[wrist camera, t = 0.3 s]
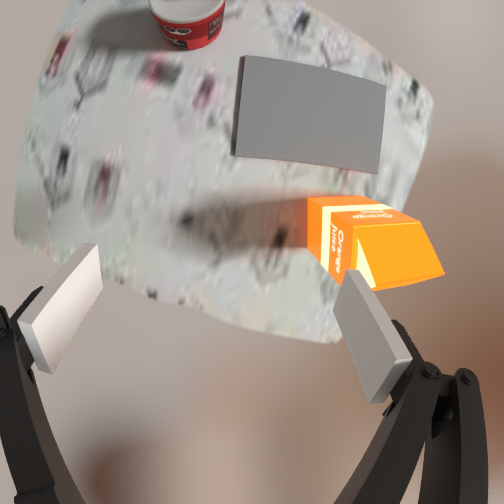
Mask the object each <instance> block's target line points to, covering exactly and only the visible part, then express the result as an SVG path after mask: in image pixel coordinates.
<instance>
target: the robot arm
mask: <svg viewBox="0 0 504 504" xmlns="http://www.w3.org/2000/svg"><path fill="white" fill-rule="evenodd" d="M102 288H103V286H102V279H101V272H100V265H99V257H98V248H97V244H91V243H84V244H83V245H82V246H81V247H80V248H79V249H78V250H77V252H76V253H75V254H74V255H73V256H72V257H71V258H70V259H69V260H68V261H67V262H66V263H65V264H64V265H63V266H62V268H61V269H60V270H59V271H58V272H57V273H56V274H55V275H54V277H53V278H52V279H51V280H50V281H49V282H48V283H47V285H46V286H45V287H43V286H40V287H39V288H37V289H36V290H34V291H33V292H32V293H31V294H30V295H29V296H28V297H27V300H25V301H24V302H23V303H22V305H21V306H20V307H19V308H18V309H17V310H16V312H15V313H14V314H13V315H12V317H11V318H10V319H9V317H8V315H7V312H6V309H5V308H4V307H3V306H0V437H1V441H2V445H3V448H4V453H5V456H6V459H7V463H8V466H9V469H10V472H11V475H12V478H13V481H14V484H15V487H16V490H17V495H16V496H15V497H14V503H15V504H86V503H85V502H84V500H83V498H82V496H81V494H80V493H79V491H78V489H77V487H76V485H75V483H74V481H73V479H72V477H71V475H70V473H69V471H68V469H67V467H66V464H65V462H64V460H63V458H62V455H61V453H60V451H59V449H58V446H57V443H56V441H55V438H54V436H53V433H52V431H51V428H50V425H49V422H48V420H47V417H46V414H45V411H44V408H43V405H42V402H41V398H40V395H39V391H38V388H37V385H36V381H35V377H34V373H33V371H32V369H31V365H32V364H33V362H34V361H35V363H36V365H37V367H38V369H39V370H40V371H43V372H46V373H49V374H53V373H54V371H55V369H56V367H57V365H58V363H59V361H60V360H61V358H62V356H63V354H64V352H65V350H66V349H67V347H68V345H69V343H70V341H71V340H72V338H73V336H74V334H75V333H76V331H77V329H78V328H79V326H80V324H81V323H82V321H83V319H84V318H85V316H86V314H87V313H88V311H89V309H90V308H91V306H92V304H93V303H94V301H95V300H96V298H97V297H98V295H99V293H100V292H101V290H102ZM333 312H334V314H335V317H336V319H337V322H338V324H339V327H340V329H341V332H342V334H343V337H344V339H345V342H346V345H347V347H348V350H349V352H350V355H351V357H352V360H353V362H354V365H355V368H356V371H357V373H358V376H359V379H360V381H361V384H362V387H363V390H364V393H365V395H366V398H367V401H368V404H374V403H382V402H384V401H385V400H386V399H387V397H388V396H389V394H390V395H391V397H392V400H393V401H392V402H391V403H390V405H389V406H388V407H387V409H386V410H385V411H384V413H383V414H382V415H383V416H384V418H383V420H382V422H381V424H380V426H379V428H378V430H377V432H376V434H375V436H374V437H373V439H372V441H371V443H370V445H369V447H368V449H367V451H366V452H365V454H364V456H363V458H362V459H361V461H360V463H359V465H358V466H357V468H356V470H355V471H354V473H353V475H352V476H351V478H350V479H349V481H348V483H347V484H346V486H345V487H344V489H343V490H342V492H341V493H340V495H339V496H338V498H337V499H336V501H335V502H334V504H400V501H401V499H402V497H403V495H404V493H405V491H406V489H407V486H408V484H409V482H410V479H411V477H412V474H413V472H414V469H415V467H416V464H417V461H418V459H419V456H420V454H421V451H422V448H423V445H424V442H425V453H424V462H423V472H422V480H421V487H420V494H419V500H418V504H488V454H487V440H486V429H485V421H484V412H483V406H482V399H481V393H480V387H479V382H478V379H477V377H476V375H475V374H474V373H473V372H472V371H471V370H469V369H466V368H460V369H458V370H457V372H456V373H455V374H454V376H451V375H445V374H441V372H440V370H439V369H438V368H437V366H435V365H434V364H432V363H430V362H424V360H423V359H422V357H421V355H420V354H419V352H418V350H417V348H416V347H415V345H414V344H413V342H411V338H410V337H409V336H408V334H407V332H406V330H405V329H404V327H403V326H402V325H401V324H400V323H399V322H398V321H396V320H390V318H389V317H388V315H387V313H386V312H385V310H384V308H383V307H382V305H381V304H380V302H379V300H378V299H377V297H376V296H375V294H374V293H373V291H372V289H371V288H370V286H369V284H368V283H367V281H366V280H365V278H364V277H363V275H362V274H361V272H360V271H359V270H354V269H346V272H345V275H344V278H343V281H342V284H341V288H340V291H339V294H338V297H337V300H336V303H335V306H334V309H333Z"/></svg>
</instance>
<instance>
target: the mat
mask: <svg viewBox="0 0 504 504" xmlns="http://www.w3.org/2000/svg"><path fill="white" fill-rule="evenodd" d="M385 98H386V86H385V85H382V84H379V83H376V82H372V81H369V80H366V79H362V78H359V77H356V76H352V75H348V74H345V73H341V72H337V71H333V70H329V69H324V68H320V67H315V66H311V65H306V64H301V63H295V62H290V61H284V60H278V59H271V58H264V57H257V56H248V55H245V60H244V69H243V78H242V88H241V97H240V107H239V117H238V127H237V138H236V149H235V156H243V157H255V158H265V159H275V160H284V161H293V162H301V163H309V164H316V165H324V166H330V167H337V168H343V169H350V170H356V171H361V172H367V173H372V174H377V173H378V166H379V158H380V150H381V142H382V133H383V122H384V111H385Z"/></svg>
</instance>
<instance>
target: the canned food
mask: <svg viewBox="0 0 504 504" xmlns="http://www.w3.org/2000/svg"><path fill="white" fill-rule="evenodd" d="M225 1H226V0H149V6H150V9H151V12H152V14H153V16H154V18H155V20H156V22H157V25H158V27H159V29H160V31H161V33H162V35H163V37H164V39H165V40H166V41H167V43H169V44H170V45H171V46H173V47H176V48H179V49H183V50H194V49H198V48H202V47H204V46H206V45H208V44H209V43H211V42H212V41H213V40H215V39H216V37H217V36H218V35H219V33H220V31H221V28H222V22H223V14H224V7H225Z"/></svg>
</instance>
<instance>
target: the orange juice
mask: <svg viewBox="0 0 504 504" xmlns="http://www.w3.org/2000/svg"><path fill="white" fill-rule="evenodd" d="M307 248H308V249H309V250H310V251H311V252H312V254H313V255H314V256H315V257H316V258H317V259H318V260H319V262H320V263H321V265H322V266H323V267H324V268H325V269H326V270H327V272H329V273H330V274H331V276H332V277H333V278H334V279H335V280H336V281H337V283H338V284H339V285H340V286H341V284H342V281H343V278H344V275H345V272H346V269H354V270H359V271H360V272H361V274H362V275H363V277H364V278H365V280H366V281H367V283H368V284H369V286H370V288H371V289H372V291H375V290H381V289H387V288H392V287H397V286H404V285H409V284H413V283H416V282H420V281H423V280H427V279H430V278H433V277H437V276H440V275H443V274H444V271H443V269H442V267H441V265H440V262H439V260H438V258H437V256H436V254H435V252H434V250H433V248H432V246H431V243H430V241H429V240H428V238H427V236H426V233H425V232H424V230H423V228H422V226H421V223H420V222H419V221H417V220H415V219H413V218H411V217H408V216H406V215H404V214H402V213H400V212H398V211H396V210H393V209H392V208H390V207H388V206H385V205H383V204H380V203H378V202H375V201H373V200H370V199H368V198H366V197H363V196H341V197H315V198H308V243H307Z"/></svg>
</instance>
